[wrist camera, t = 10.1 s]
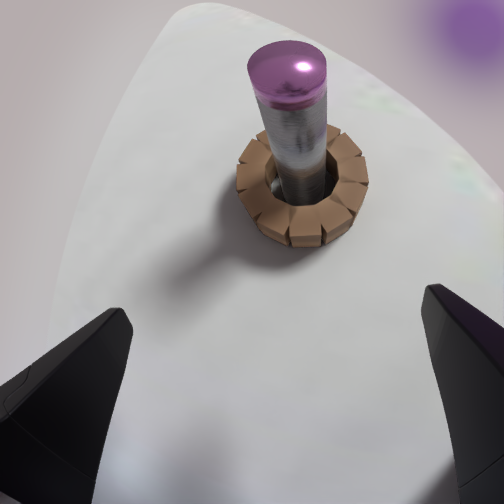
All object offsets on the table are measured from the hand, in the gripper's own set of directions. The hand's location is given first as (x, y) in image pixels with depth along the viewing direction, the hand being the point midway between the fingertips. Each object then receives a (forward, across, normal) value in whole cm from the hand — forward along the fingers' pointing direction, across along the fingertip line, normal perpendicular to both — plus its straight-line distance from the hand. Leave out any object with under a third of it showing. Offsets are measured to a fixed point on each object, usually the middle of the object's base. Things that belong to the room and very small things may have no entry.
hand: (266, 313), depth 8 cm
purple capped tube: (+16, -1, +2) cm, 16 cm away
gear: (+16, -1, +2) cm, 16 cm away
